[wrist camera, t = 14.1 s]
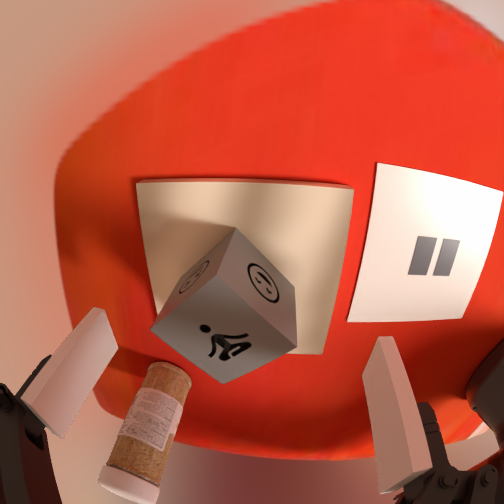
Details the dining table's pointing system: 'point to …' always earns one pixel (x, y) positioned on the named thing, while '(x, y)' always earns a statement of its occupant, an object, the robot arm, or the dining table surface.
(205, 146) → the dining table surface
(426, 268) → the white tile
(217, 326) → the dice cube
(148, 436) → the sprinkles bottle
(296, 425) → the dining table surface
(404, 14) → the dining table surface
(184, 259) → the birch coaster
